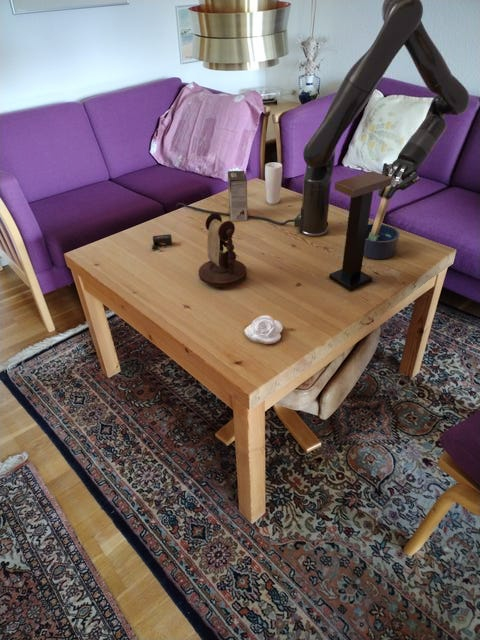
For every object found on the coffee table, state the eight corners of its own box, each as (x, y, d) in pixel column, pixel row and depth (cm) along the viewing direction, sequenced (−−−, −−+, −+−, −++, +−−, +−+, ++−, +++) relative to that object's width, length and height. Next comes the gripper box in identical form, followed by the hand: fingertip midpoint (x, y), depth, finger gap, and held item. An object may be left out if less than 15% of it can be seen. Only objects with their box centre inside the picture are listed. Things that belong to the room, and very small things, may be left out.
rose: (272, 305, 126) (290, 325, 119) (272, 318, 128) (289, 338, 121) (238, 315, 123) (255, 336, 115) (238, 329, 125) (255, 350, 118)
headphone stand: (356, 266, 149) (370, 169, 131) (377, 279, 143) (395, 179, 125) (322, 280, 143) (332, 181, 125) (343, 294, 137) (356, 191, 118)
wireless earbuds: (151, 244, 164) (150, 236, 162) (171, 242, 165) (170, 234, 163) (152, 251, 161) (150, 242, 159) (172, 248, 162) (171, 240, 160)
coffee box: (228, 211, 185) (227, 170, 175) (245, 210, 185) (244, 169, 176) (230, 221, 178) (229, 179, 168) (247, 220, 178) (247, 178, 168)
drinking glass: (280, 205, 188) (281, 168, 179) (263, 204, 189) (263, 167, 180) (282, 199, 193) (283, 162, 184) (266, 198, 195) (266, 161, 186)
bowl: (353, 257, 154) (355, 239, 150) (357, 239, 164) (359, 221, 160) (395, 262, 151) (399, 244, 147) (396, 243, 161) (399, 225, 157)
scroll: (190, 275, 148) (184, 215, 136) (229, 260, 154) (226, 202, 142) (216, 296, 138) (212, 234, 126) (256, 279, 145) (256, 219, 133)
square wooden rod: (388, 183, 147) (384, 183, 146) (396, 186, 145) (392, 186, 143) (366, 249, 157) (363, 249, 156) (373, 253, 155) (370, 253, 154)
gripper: (395, 136, 146) (361, 184, 148) (432, 147, 136) (395, 198, 139) (403, 150, 151) (371, 196, 153) (440, 161, 142) (404, 210, 144)
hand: (383, 197), depth 146 cm, fingers closed on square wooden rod, 2 cm apart
